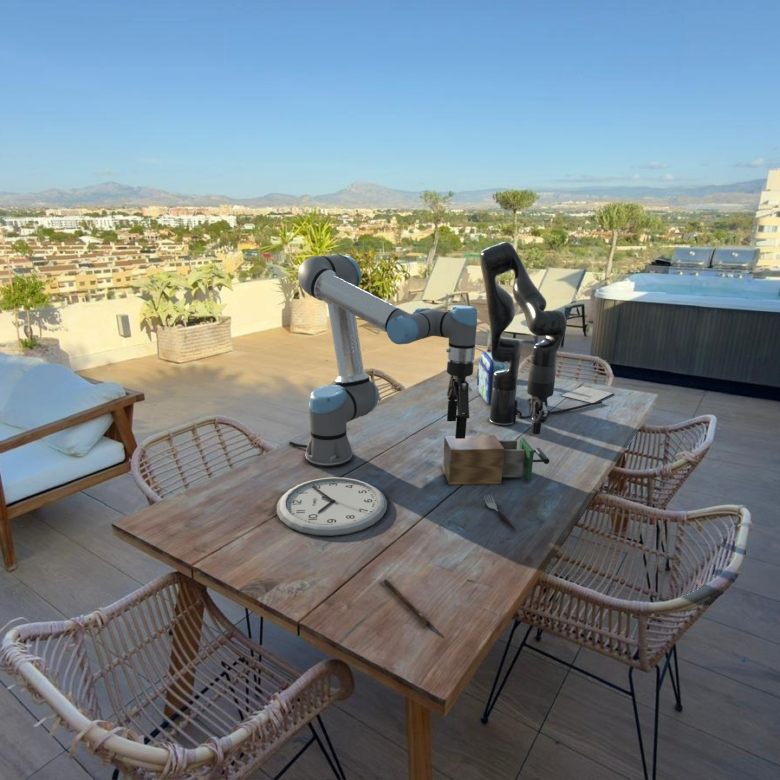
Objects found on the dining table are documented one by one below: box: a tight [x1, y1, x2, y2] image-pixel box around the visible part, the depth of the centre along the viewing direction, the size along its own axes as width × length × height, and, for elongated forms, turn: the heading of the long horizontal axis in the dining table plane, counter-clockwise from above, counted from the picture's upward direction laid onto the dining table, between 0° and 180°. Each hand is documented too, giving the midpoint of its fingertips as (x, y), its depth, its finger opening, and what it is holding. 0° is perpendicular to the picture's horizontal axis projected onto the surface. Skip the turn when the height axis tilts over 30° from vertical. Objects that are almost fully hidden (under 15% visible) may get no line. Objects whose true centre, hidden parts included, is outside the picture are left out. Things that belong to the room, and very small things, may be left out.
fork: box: [483, 493, 516, 530], centre depth 139 cm, size 3×16×2 cm, turn 15°
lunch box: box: [476, 351, 510, 406], centre depth 230 cm, size 26×11×21 cm, turn 179°
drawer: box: [498, 437, 550, 480], centre depth 161 cm, size 20×9×9 cm, turn 94°
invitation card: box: [560, 385, 613, 404], centre depth 242 cm, size 21×1×15 cm
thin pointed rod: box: [383, 578, 429, 627], centre depth 106 cm, size 15×1×1 cm, turn 34°
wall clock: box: [276, 476, 388, 537], centre depth 142 cm, size 30×2×30 cm
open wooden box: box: [442, 434, 504, 485], centre depth 160 cm, size 16×11×11 cm
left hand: (455, 429), depth 156 cm, fingers open, 13 cm apart
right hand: (535, 433), depth 159 cm, fingers closed
